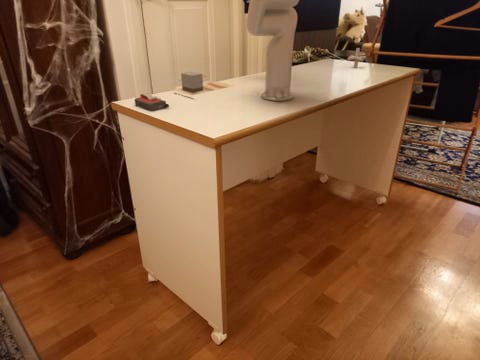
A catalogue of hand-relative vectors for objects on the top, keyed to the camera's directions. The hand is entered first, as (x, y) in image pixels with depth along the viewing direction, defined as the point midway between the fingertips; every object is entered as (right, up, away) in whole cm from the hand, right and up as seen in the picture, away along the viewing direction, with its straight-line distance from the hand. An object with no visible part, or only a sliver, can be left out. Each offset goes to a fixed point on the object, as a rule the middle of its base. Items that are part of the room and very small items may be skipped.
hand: (255, 13), depth 148 cm
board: (-21, -34, -4) cm, 40 cm away
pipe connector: (+56, -10, +41) cm, 70 cm away
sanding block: (-26, -35, -8) cm, 44 cm away
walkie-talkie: (-40, -44, -20) cm, 62 cm away
